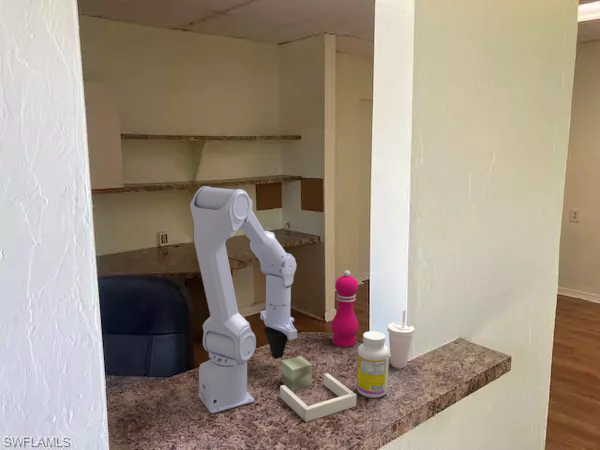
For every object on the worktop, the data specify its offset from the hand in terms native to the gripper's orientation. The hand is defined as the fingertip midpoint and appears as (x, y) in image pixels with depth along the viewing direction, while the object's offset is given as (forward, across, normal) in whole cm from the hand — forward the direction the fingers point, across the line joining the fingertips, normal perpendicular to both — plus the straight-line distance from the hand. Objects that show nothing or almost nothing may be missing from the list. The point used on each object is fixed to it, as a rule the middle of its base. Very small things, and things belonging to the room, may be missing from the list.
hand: (277, 357), depth 116 cm
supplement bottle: (+3, -20, -13) cm, 24 cm away
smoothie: (+3, -13, -26) cm, 30 cm away
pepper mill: (+3, +4, -22) cm, 23 cm away
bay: (+2, -18, 0) cm, 18 cm away
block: (+2, -9, 0) cm, 9 cm away
